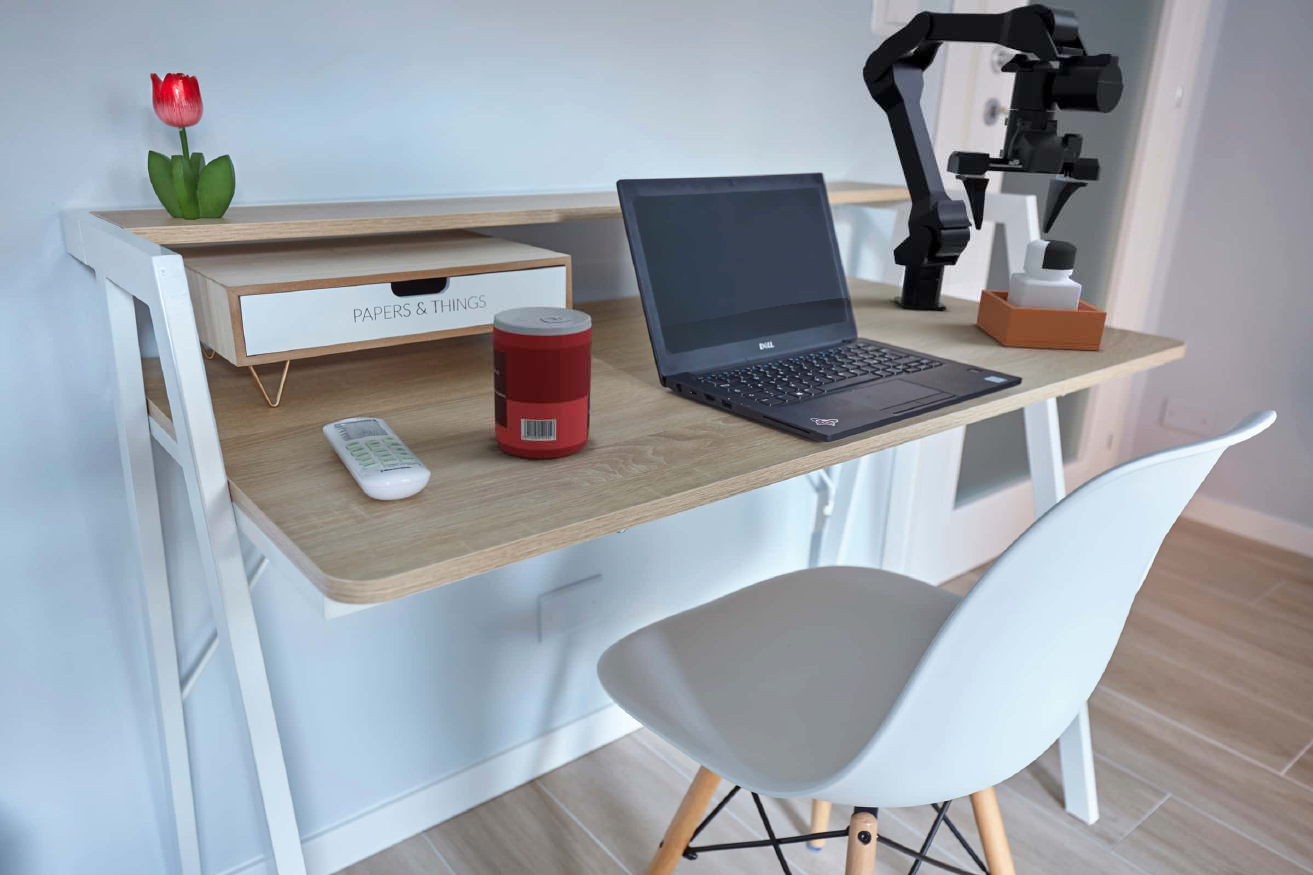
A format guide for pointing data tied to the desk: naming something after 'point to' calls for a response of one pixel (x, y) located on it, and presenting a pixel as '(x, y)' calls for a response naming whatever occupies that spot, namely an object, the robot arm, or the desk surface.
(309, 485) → the desk surface
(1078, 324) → the bin
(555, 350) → the canned food
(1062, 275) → the medicine bottle
